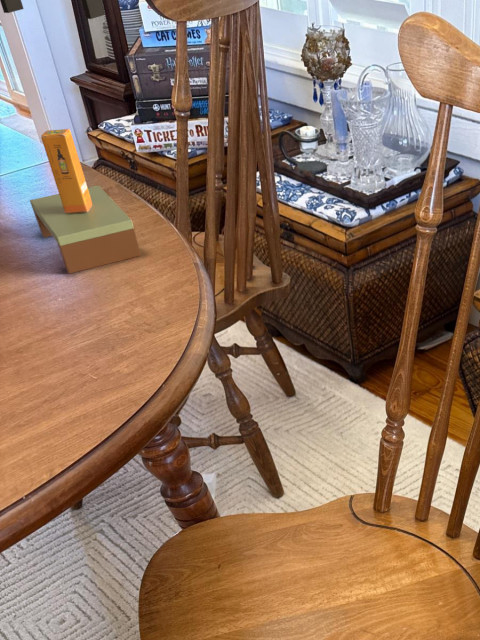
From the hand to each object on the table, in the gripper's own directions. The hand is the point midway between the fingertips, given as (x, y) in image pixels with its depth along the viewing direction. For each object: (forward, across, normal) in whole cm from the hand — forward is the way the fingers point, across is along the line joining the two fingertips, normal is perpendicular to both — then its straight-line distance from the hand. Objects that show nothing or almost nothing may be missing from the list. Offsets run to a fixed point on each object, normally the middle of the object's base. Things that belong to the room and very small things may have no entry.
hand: (54, 14), depth 99 cm
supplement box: (+22, -2, +7) cm, 23 cm away
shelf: (+27, -2, +8) cm, 28 cm away
